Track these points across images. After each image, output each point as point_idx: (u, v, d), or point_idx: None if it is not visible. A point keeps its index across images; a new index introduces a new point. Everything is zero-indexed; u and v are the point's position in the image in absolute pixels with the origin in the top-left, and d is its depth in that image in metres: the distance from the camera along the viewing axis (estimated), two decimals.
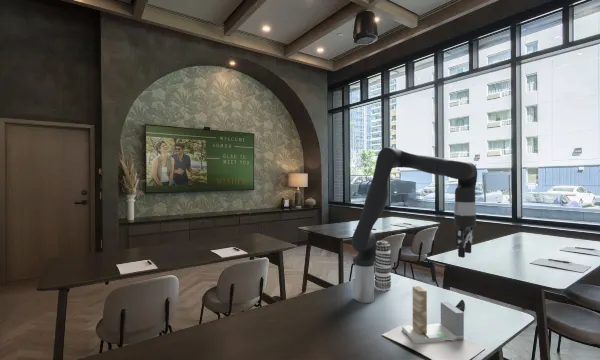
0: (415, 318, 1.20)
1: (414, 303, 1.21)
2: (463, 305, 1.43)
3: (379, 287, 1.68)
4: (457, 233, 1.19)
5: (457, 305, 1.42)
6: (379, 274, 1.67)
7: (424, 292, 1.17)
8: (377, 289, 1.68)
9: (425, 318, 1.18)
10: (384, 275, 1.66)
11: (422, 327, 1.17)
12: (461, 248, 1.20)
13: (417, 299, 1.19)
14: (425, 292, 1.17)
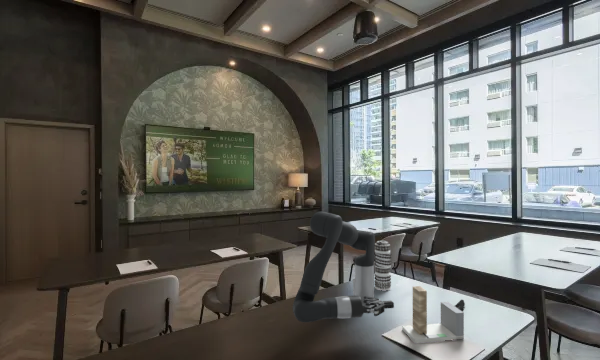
0: (415, 318, 1.20)
1: (414, 303, 1.21)
2: (462, 305, 1.44)
3: (379, 287, 1.68)
4: None
5: (456, 305, 1.42)
6: (379, 274, 1.67)
7: (424, 292, 1.17)
8: (377, 289, 1.68)
9: (425, 318, 1.18)
10: (384, 275, 1.66)
11: (422, 327, 1.17)
12: None
13: (417, 299, 1.19)
14: (425, 292, 1.17)
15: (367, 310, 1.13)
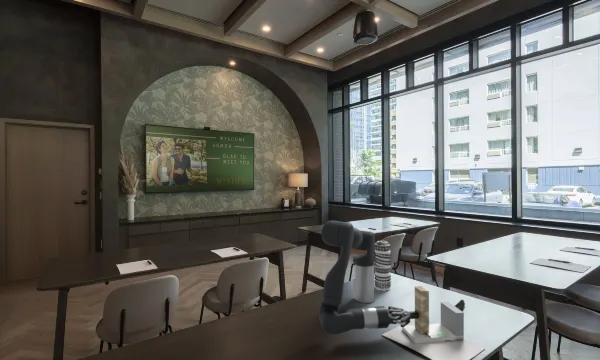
0: None
1: (416, 303, 1.21)
2: (462, 305, 1.44)
3: (379, 287, 1.68)
4: None
5: (456, 305, 1.42)
6: (379, 274, 1.67)
7: (426, 292, 1.17)
8: (377, 289, 1.68)
9: (427, 318, 1.18)
10: (384, 275, 1.66)
11: (424, 327, 1.18)
12: None
13: (419, 299, 1.19)
14: (427, 292, 1.17)
15: (393, 321, 1.15)
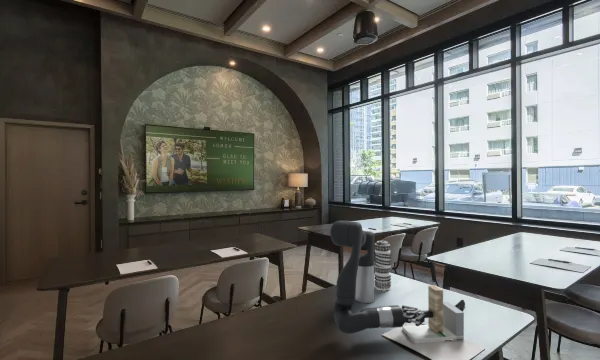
0: None
1: (430, 302, 1.22)
2: (463, 305, 1.44)
3: (379, 287, 1.68)
4: None
5: (456, 305, 1.42)
6: (379, 274, 1.67)
7: (440, 291, 1.18)
8: (377, 289, 1.68)
9: (441, 317, 1.18)
10: (384, 275, 1.66)
11: (439, 326, 1.18)
12: None
13: (433, 298, 1.19)
14: (441, 291, 1.18)
15: (408, 320, 1.15)
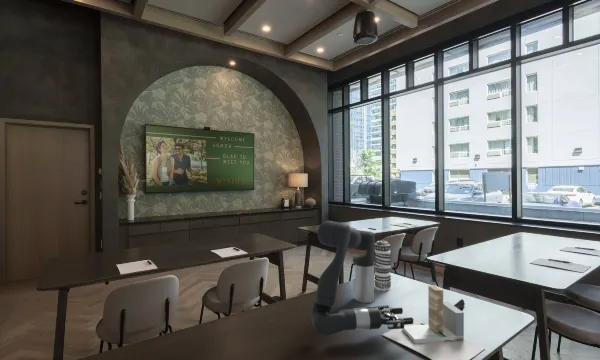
0: (431, 316, 1.21)
1: (430, 302, 1.22)
2: (462, 304, 1.44)
3: (379, 287, 1.68)
4: None
5: (455, 304, 1.43)
6: (379, 274, 1.67)
7: (440, 291, 1.18)
8: (377, 289, 1.68)
9: (441, 317, 1.18)
10: (384, 275, 1.66)
11: (439, 326, 1.18)
12: None
13: (433, 298, 1.19)
14: (441, 291, 1.18)
15: None
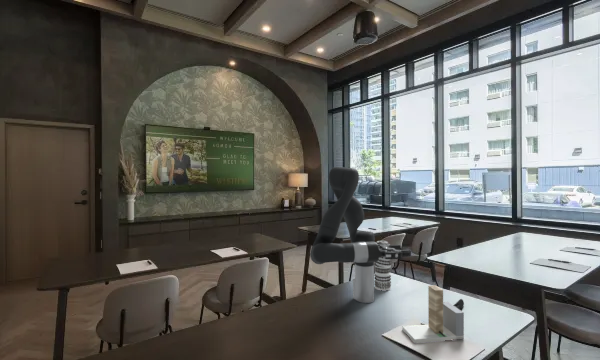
0: (431, 316, 1.21)
1: (430, 302, 1.22)
2: (461, 304, 1.44)
3: (379, 287, 1.68)
4: None
5: (455, 304, 1.43)
6: (379, 274, 1.67)
7: (440, 291, 1.18)
8: (377, 289, 1.68)
9: (441, 317, 1.18)
10: (384, 275, 1.66)
11: (439, 326, 1.18)
12: None
13: (433, 298, 1.19)
14: (441, 291, 1.18)
15: None
